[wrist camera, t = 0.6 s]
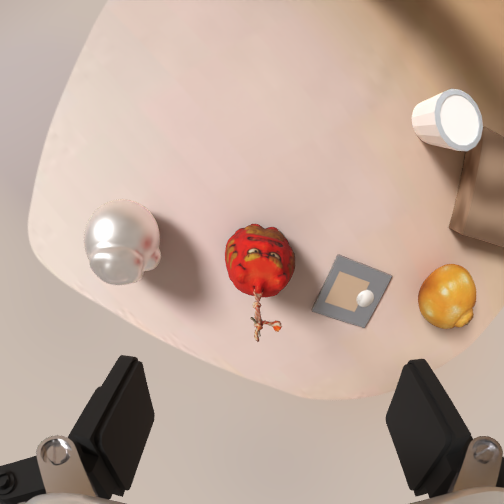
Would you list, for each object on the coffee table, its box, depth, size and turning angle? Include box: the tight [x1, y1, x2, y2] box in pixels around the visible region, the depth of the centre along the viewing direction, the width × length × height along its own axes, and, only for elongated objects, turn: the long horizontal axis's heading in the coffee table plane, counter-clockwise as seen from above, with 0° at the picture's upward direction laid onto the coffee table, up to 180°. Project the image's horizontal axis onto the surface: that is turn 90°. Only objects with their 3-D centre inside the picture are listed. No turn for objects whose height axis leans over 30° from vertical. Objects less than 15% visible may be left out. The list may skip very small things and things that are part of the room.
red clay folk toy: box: [225, 224, 295, 342], centre depth 31 cm, size 8×7×15 cm
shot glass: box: [412, 89, 483, 151], centre depth 29 cm, size 7×7×7 cm
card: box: [312, 254, 392, 328], centre depth 39 cm, size 8×8×1 cm
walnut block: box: [449, 127, 504, 247], centre depth 33 cm, size 14×14×4 cm
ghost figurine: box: [84, 199, 161, 285], centre depth 33 cm, size 9×9×10 cm
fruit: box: [418, 264, 476, 329], centre depth 35 cm, size 8×8×8 cm
